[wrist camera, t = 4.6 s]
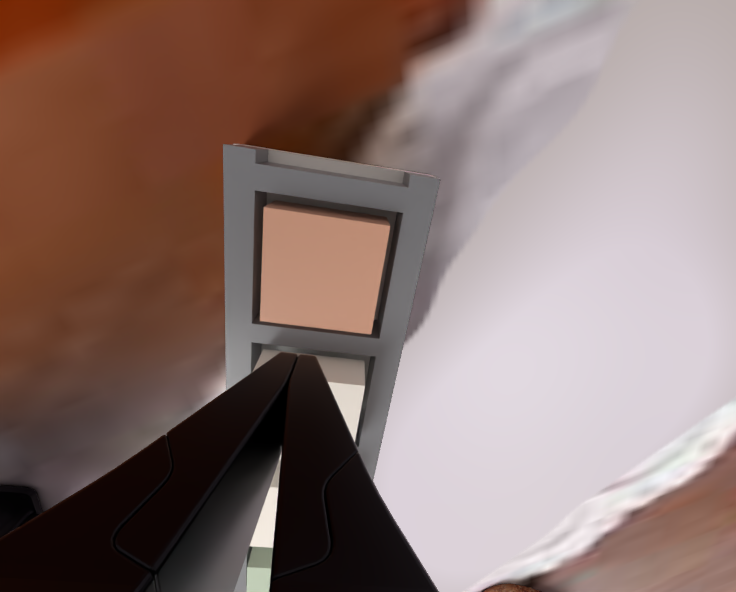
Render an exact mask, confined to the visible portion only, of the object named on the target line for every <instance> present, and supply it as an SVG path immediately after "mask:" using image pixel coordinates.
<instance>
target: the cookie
mask: <svg viewBox="0 0 736 592" xmlns="http://www.w3.org/2000/svg"><path fill="white" fill-rule="evenodd" d="M483 592H541V591H538V590H535V589H532V588H531V587H526V586H521V585H516V584H500V585H495V586H492V587H490V588H488V589H486V590H485V591H483Z"/></svg>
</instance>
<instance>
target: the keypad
mask: <svg viewBox="0 0 736 592" xmlns="http://www.w3.org/2000/svg"><path fill="white" fill-rule="evenodd" d="M223 176H224V257H225V338H226V390H228V389H229V388H231V387H232V386H233V385H235V384H236V383H238V382H239V381H240V380H242V379H243V378H245V377H246V376H247V375H249V374H250V373H252V372H253V370H254V368H255V366H256V363H257V361H258V359H259V357H260V355H261V353H262V351H263V349H267V350H276V351H285V352H294V353H302V354H311V355H320V356H329V357H338V358H346V359H355V360H364V365H365V389H364V395H363V400H362V406H361V411H360V417H359V422H358V428H357V433H356V438H355V444H356V446H357V448H358V451H359V454H360V455H361V457H362V459H363V461H364V464H365V466H366V468H367V470H368V472H369V474H370V476H371V478H372V480H373V478H374V473H375V469H376V465H377V460H378V455H379V451H380V447H381V443H382V438H383V433H384V429H385V425H386V419H387V416H388V411H389V407H390V402H391V398H392V393H393V388H394V385H395V380H396V376H397V371H398V367H399V362H400V358H401V353H402V349H403V344H404V340H405V335H406V331H407V327H408V322H409V318H410V313H411V309H412V304H413V300H414V295H415V291H416V286H417V282H418V278H419V273H420V269H421V264H422V260H423V255H424V251H425V246H426V242H427V237H428V233H429V228H430V224H431V220H432V215H433V211H434V206H435V202H436V197H437V193H438V188H439V184H440V179H438V178H437V177H436V176H433V175H429V174H423V173H417V172H411V171H405V170H398V169H392V168H386V167H380V166H374V165H368V164H362V163H356V162H349V161H343V160H337V159H331V158H325V157H319V156H313V155H306V154H300V153H294V152H288V151H282V150H276V149H270V148H264V147H257V146H251V145H245V144H233V145H231V144H223ZM275 200H277V201H284V202H291V203H297V204H304V205H311V206H317V207H324V208H331V209H337V210H344V211H350V212H357V213H364V214H370V215H377V216H384V217H387V219H388V221H389V224H390V232H389V237H388V243H387V249H386V254H385V260H384V265H383V271H382V276H381V282H380V288H379V293H378V299H377V304H376V310H375V316H374V321H373V327H372V332H371V334H363V333H355V332H347V331H338V330H330V329H322V328H314V327H305V326H297V325H289V324H280V323H272V322H264V321H260V303H261V272H262V241H263V210H264V207H265V206H266V205H268V204H270V203H271V202H273V201H275ZM252 547H253V546H249V549H248V552H247V555H246V558H245V561H244V564H243V567H242V569H241V572H240V575H239V578H238V581H237V584H236V587H235V590H234V592H247V566H248V562H249V558H250V554H251V551H252Z"/></svg>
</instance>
